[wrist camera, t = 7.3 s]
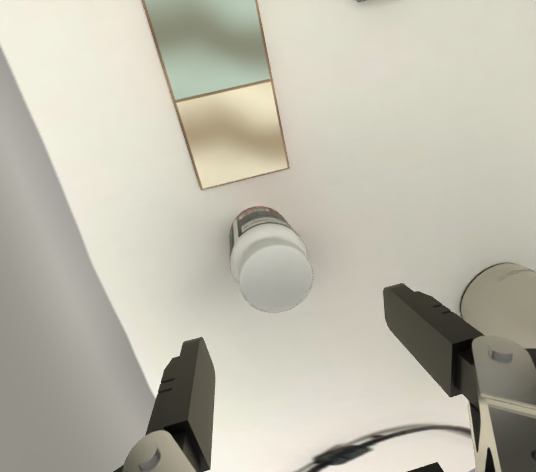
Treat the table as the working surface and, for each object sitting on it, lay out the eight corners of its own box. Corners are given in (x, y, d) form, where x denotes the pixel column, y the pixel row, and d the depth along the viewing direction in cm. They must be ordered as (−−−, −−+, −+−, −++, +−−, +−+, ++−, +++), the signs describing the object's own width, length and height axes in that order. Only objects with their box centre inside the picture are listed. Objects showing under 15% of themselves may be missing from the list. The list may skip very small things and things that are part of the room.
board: (287, 167, 24) (290, 168, 23) (201, 189, 24) (200, 190, 23) (224, -156, 17) (224, -174, 16) (101, -135, 17) (93, -152, 16)
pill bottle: (269, 270, 27) (290, 333, 18) (219, 246, 25) (212, 301, 16) (298, 222, 26) (337, 262, 16) (247, 194, 24) (259, 220, 15)
